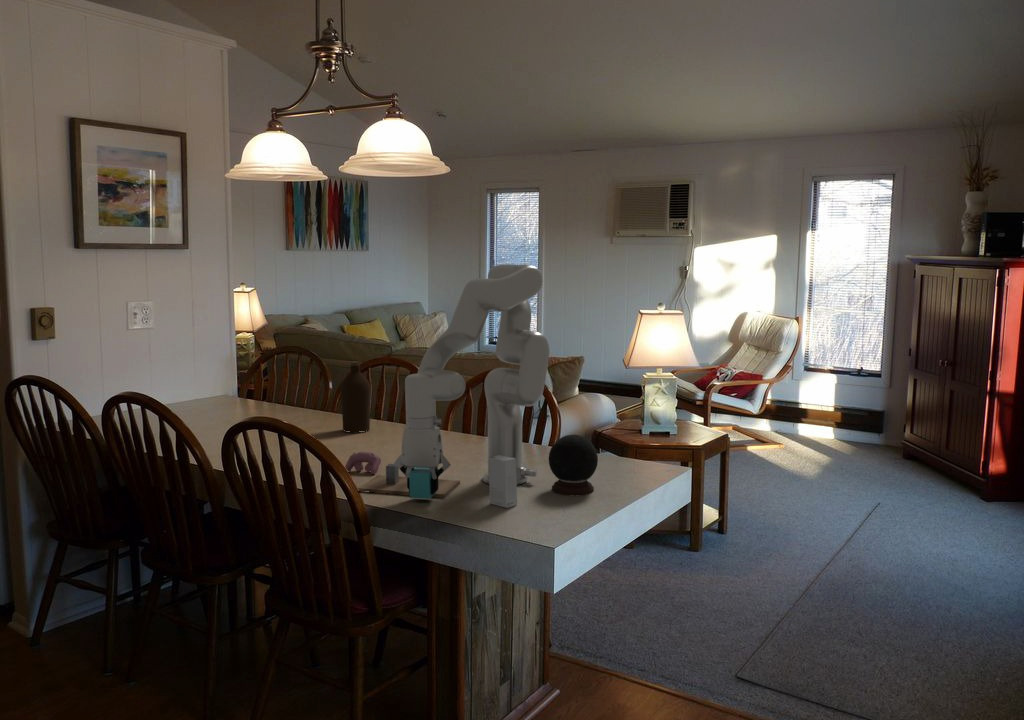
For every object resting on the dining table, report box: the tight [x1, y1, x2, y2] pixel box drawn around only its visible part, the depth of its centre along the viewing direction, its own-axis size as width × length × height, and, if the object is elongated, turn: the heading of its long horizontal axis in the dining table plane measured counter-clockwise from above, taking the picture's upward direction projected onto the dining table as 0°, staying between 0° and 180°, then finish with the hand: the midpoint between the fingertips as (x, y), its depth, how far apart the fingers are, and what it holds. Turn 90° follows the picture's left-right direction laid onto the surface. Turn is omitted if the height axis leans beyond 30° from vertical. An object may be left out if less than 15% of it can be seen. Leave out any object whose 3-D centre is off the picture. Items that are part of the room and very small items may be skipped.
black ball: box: [548, 434, 599, 497], centre depth 225 cm, size 13×13×15 cm
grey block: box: [385, 463, 400, 485], centre depth 228 cm, size 3×3×5 cm
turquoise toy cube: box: [409, 467, 434, 500], centre depth 215 cm, size 5×5×7 cm
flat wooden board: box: [357, 474, 461, 499], centre depth 227 cm, size 24×14×6 cm, turn 77°
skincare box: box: [488, 455, 518, 509], centre depth 211 cm, size 6×4×12 cm
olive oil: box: [340, 360, 372, 432], centre depth 301 cm, size 11×11×25 cm
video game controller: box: [344, 451, 382, 475], centre depth 244 cm, size 10×5×7 cm, turn 75°
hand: (423, 491), depth 215 cm, fingers closed on turquoise toy cube, 5 cm apart
